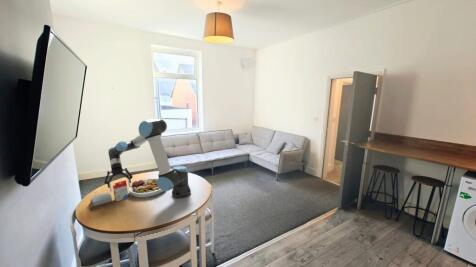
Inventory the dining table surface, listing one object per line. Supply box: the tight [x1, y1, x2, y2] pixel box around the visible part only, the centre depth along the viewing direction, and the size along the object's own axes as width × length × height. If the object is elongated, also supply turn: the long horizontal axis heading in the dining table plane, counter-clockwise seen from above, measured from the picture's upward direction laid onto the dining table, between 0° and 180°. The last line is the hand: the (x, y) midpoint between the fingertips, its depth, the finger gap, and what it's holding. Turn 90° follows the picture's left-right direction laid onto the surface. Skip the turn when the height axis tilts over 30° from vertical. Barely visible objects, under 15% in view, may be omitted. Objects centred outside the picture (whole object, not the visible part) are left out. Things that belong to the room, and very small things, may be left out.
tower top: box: [91, 191, 113, 206], centre depth 152 cm, size 11×11×3 cm
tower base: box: [90, 194, 114, 211], centre depth 153 cm, size 13×13×3 cm
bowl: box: [128, 177, 164, 198], centre depth 174 cm, size 30×30×8 cm
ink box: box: [112, 180, 129, 202], centre depth 159 cm, size 8×5×15 cm, turn 141°
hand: (120, 189), depth 157 cm, fingers open, 12 cm apart
